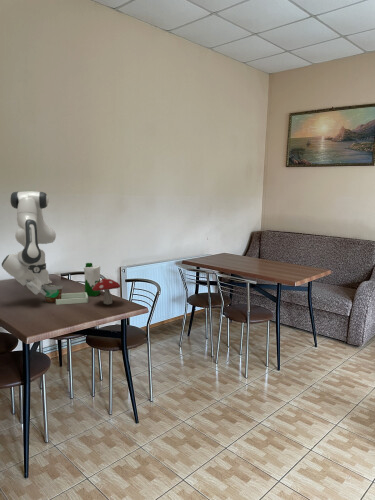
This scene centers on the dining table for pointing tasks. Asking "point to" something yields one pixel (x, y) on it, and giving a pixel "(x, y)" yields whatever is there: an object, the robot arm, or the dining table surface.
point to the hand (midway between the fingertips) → (45, 293)
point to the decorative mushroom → (106, 288)
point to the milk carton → (91, 278)
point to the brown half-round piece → (52, 293)
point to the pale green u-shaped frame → (72, 298)
